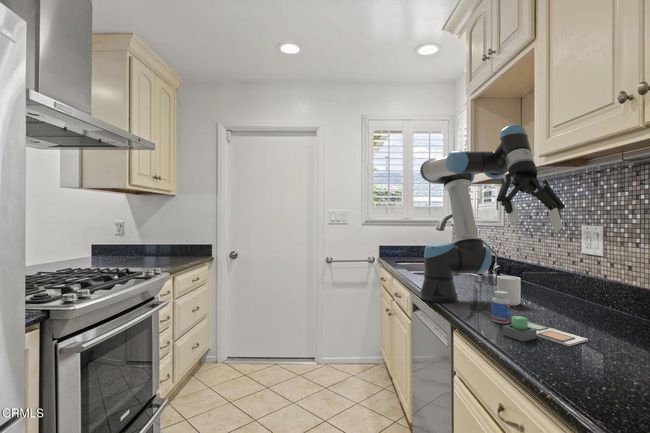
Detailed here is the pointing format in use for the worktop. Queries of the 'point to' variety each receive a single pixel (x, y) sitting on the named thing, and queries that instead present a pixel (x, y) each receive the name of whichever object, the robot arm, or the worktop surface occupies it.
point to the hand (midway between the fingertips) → (536, 226)
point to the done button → (520, 323)
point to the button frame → (519, 333)
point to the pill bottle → (501, 307)
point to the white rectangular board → (557, 335)
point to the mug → (510, 288)
